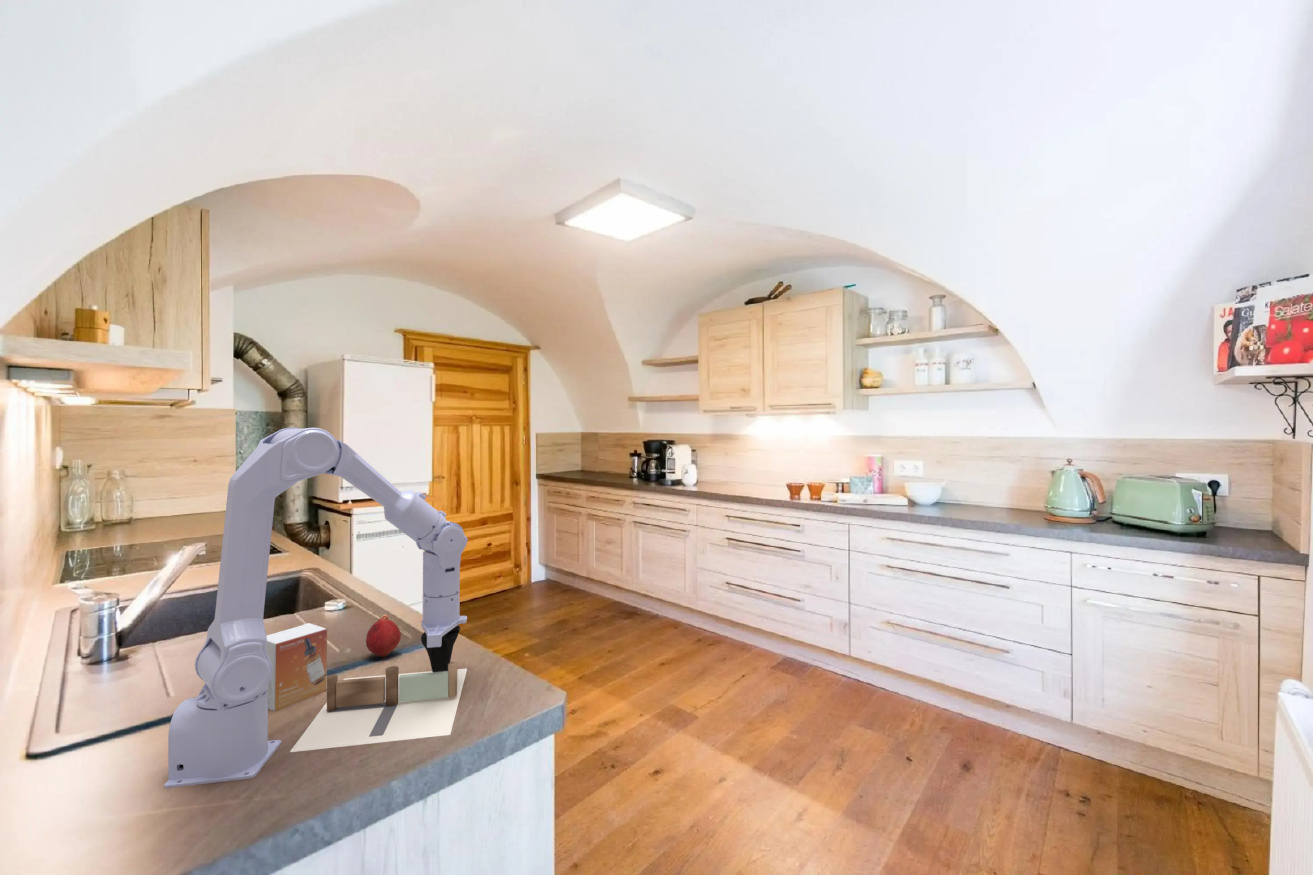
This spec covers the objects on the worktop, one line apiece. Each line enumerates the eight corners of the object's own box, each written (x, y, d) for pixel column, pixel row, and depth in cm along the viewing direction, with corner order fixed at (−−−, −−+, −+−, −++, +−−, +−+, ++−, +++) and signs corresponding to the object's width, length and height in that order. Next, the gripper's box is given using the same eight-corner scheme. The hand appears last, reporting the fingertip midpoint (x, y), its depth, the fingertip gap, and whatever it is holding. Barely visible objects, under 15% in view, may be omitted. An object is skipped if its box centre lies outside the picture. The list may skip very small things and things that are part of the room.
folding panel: (398, 702, 85) (398, 669, 85) (400, 697, 86) (400, 666, 86) (456, 696, 87) (456, 665, 87) (457, 692, 88) (457, 661, 88)
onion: (375, 666, 100) (375, 622, 99) (360, 658, 103) (360, 615, 103) (406, 656, 104) (406, 614, 104) (390, 648, 108) (391, 607, 108)
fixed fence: (324, 712, 83) (325, 676, 82) (329, 707, 84) (329, 671, 84) (396, 706, 85) (397, 670, 85) (399, 700, 87) (399, 665, 86)
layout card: (289, 754, 72) (289, 751, 72) (344, 680, 94) (344, 678, 94) (450, 736, 77) (450, 734, 77) (467, 669, 98) (467, 667, 98)
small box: (273, 713, 83) (274, 644, 83) (255, 704, 86) (255, 636, 85) (328, 692, 90) (328, 627, 90) (309, 683, 93) (309, 621, 92)
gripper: (461, 604, 85) (461, 692, 85) (471, 579, 99) (470, 654, 99) (412, 607, 83) (412, 696, 84) (429, 581, 97) (428, 658, 98)
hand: (440, 674), depth 91 cm, fingers closed
